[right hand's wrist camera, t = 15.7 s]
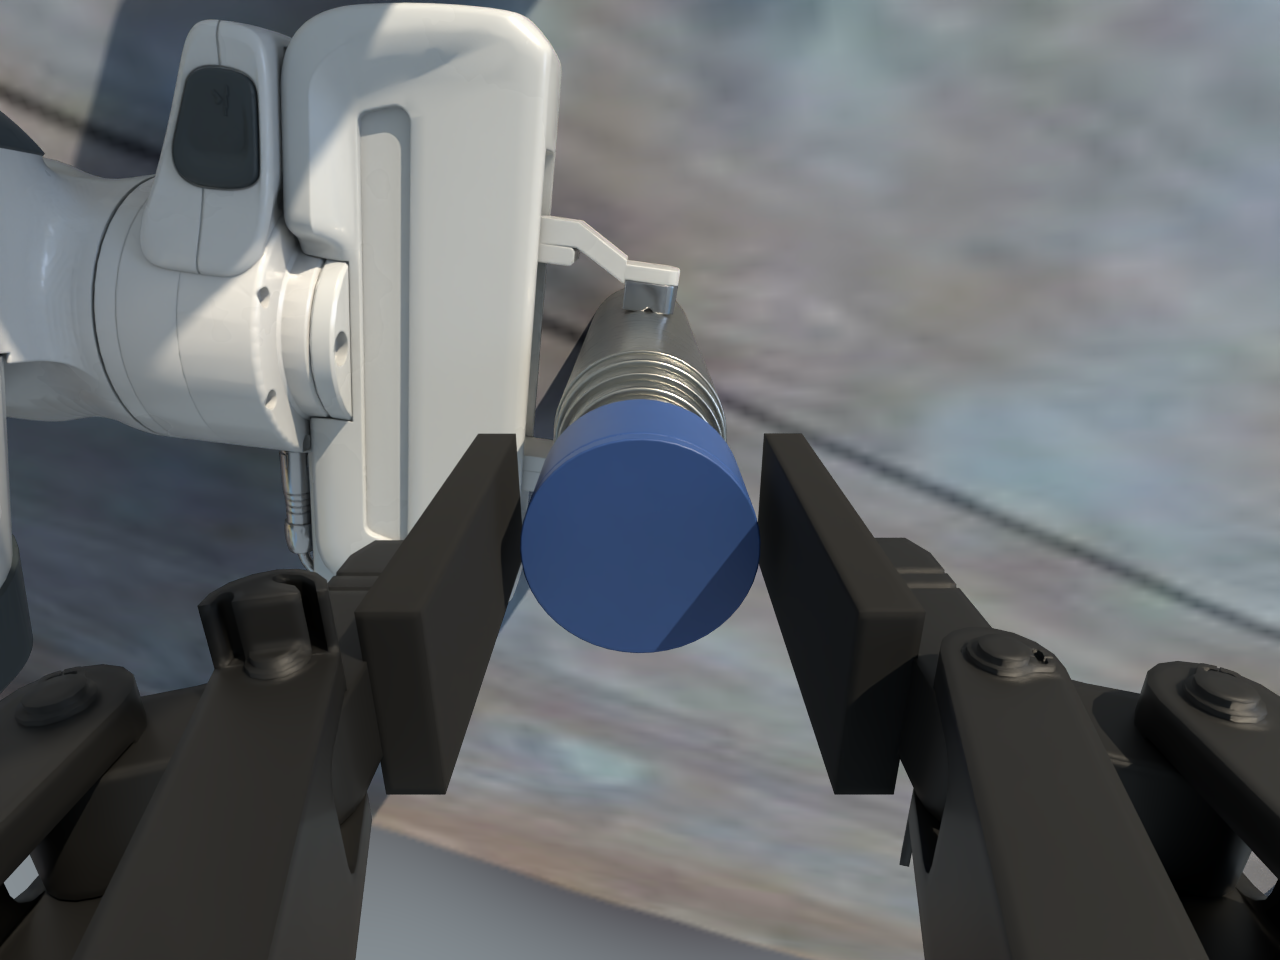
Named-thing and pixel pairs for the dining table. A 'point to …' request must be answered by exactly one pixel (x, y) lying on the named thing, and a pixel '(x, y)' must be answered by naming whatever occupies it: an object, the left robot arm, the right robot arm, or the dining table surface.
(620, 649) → the cap
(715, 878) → the dining table surface
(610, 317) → the bottle
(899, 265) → the dining table surface
